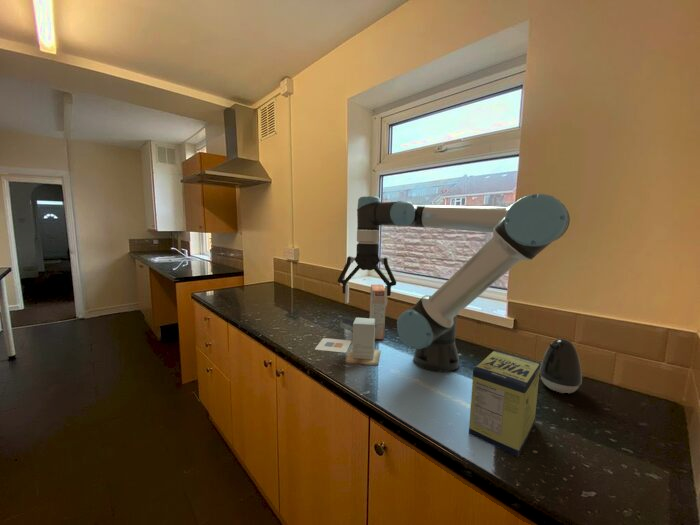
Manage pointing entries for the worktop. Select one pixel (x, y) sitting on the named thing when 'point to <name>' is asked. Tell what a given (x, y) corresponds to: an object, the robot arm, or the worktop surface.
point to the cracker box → (378, 309)
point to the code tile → (333, 345)
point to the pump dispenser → (561, 367)
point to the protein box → (504, 400)
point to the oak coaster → (364, 361)
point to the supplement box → (363, 338)
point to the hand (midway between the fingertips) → (366, 303)
